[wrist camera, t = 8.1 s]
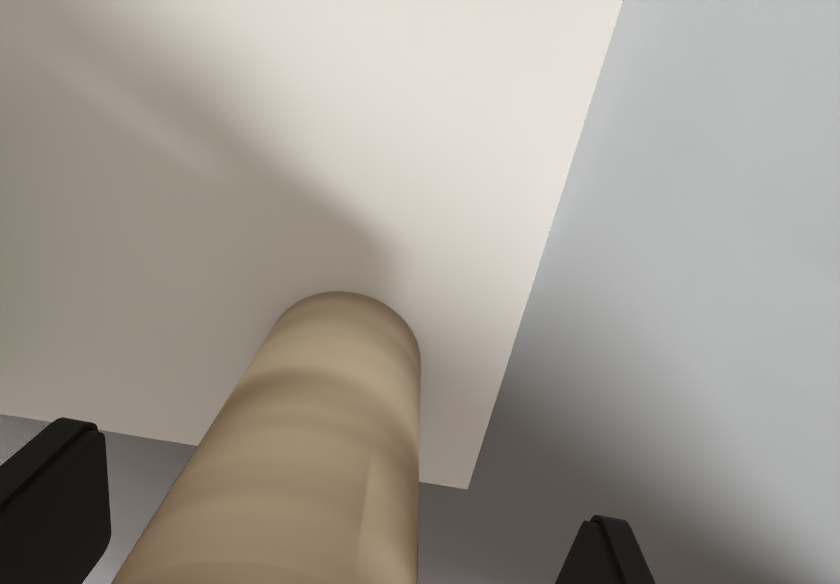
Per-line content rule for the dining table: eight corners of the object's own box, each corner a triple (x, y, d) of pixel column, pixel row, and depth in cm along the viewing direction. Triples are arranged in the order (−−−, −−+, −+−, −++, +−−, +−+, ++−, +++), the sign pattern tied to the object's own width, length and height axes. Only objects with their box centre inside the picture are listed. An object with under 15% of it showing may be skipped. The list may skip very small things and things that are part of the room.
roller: (406, 434, 15) (388, 779, 7) (262, 412, 15) (95, 746, 7) (434, 306, 13) (446, 589, 6) (271, 278, 13) (65, 537, 5)
